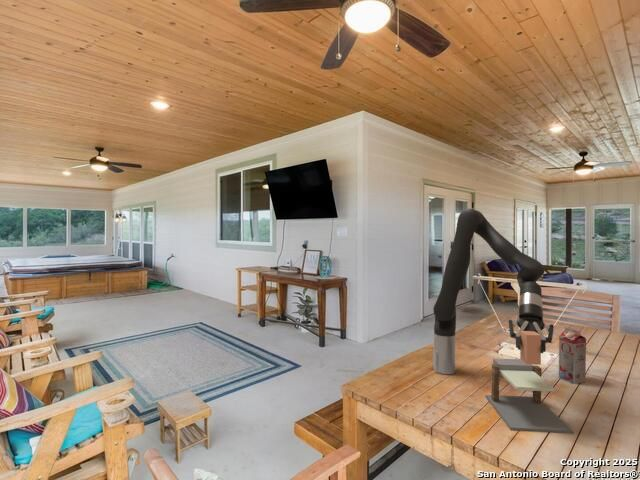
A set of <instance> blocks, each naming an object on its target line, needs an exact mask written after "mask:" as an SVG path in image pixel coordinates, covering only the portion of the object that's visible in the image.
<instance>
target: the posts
mask: <svg viewBox="0 0 640 480" xmlns="http://www.w3.org/2000/svg"><path fill="white" fill-rule="evenodd" d="M533 371H534V372H535V373H536V374H538V375H539V376H540V377H541V378H542V371H543V370H542V367H540V366H539V365H533ZM490 393H491V394H490V395H491V399H492V400H493V401H494V402H499V395H500V378H499V366H498V365H495V364H493V363H492V364H491V392H490ZM532 397H533V401H534V402H535V403H536V404H541V401H542V391H532Z"/></svg>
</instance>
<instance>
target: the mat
mask: <svg viewBox="0 0 640 480" xmlns="http://www.w3.org/2000/svg"><path fill="white" fill-rule="evenodd" d="M484 397H485V398H486V399H487V401H488V403H489V404H490V405H491V406H492V407H493V409H494V411H496V413H497V414H498V415H499V417H500V418H501V419H502V421H503V422H504V424H505V425H506V426H507V427H508V428H509V430H510V431H522V432H541V433H542V432H544V433H545V432H546V433H547V432H548V433H565V434H573V433H574V430H573V429H572V428H571V427H570V426H569V425H568V424H567V423H566V422H565V421H563V420H562V419H561V418H560V417H559V416H558V415H557V414H556V413H555V412H554V411H553V410H552V409H551V408H550V407H549V406H547V405H546V404H545V403H544V402H543V401H542V400H541V404H536V403H535V402H534V401H533V396H525V395H524V396H522V395H501V394H499V402H494V401H493V400H492V399H491V394H485V396H484Z"/></svg>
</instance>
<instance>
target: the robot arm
mask: <svg viewBox="0 0 640 480" xmlns="http://www.w3.org/2000/svg"><path fill="white" fill-rule="evenodd" d="M455 228H456V229H455V232H454V238H453V241H452V244H451V248H450V252H449V254H448V257H447V261H446V263H445V269H444V273H443V276H442V277H443V278H442V282H441V289H440V291H439V294H438V297H437V299H436V301H435V303H434V306H433V308H432V309H433V315H434V326H433V336H434V337H433V345H434V346H433V347H432V368H433V370H434V372H435V373H437V374H441V375H442V374H443V375H453V374H455V373H456V329H457V327H456V326H457V306H456V304H457V298H458V295H459V292H460V290H461V287H462V286H463V283H464V281H465V279H466V276H467V273H468V271H469V267H470V263H471V257H472V256H471V253H472V252H471V246H472V240H473V237H474V234H477V236H479V237H481V238H482V239H483V240H484V241H485V242H486V243H487V244H488V245H489V247H490V248H491V250H492V251H493V252H494V253H495V254H496V255H497V256H498V257H499V258H500V259H501V260H502V261H503V262H505V264H507V265H508V266H510V267H513V266H515V265H519V266H520V267H521V268H520V269H519V271H518V272H517V275H516V280H517V283H518V287H519V300H518V319H517V320H515V321H513V319H509V320H508V328H509V337H510V338H511V339H515V348H517V350H518V351H520V340H521V339H520V336H521V334H520V331H533V332H536V333H538V334H540V335H541V354H544V353H545V352H546V349H547V348H546V347H547V345H546V344H551V343H552V341H553V336H554V329H555V328H554V327H555V326H554V324H545V323H544V314H543V313H544V311H543V310H544V308H543V307H544V306H543V298H542V297H543V296H542V286H541V285H540V284H539V283H538V280H539V279H540V278H541V277H543V275H545V271H546V270H545V267H544V265H543V264H542V263H541V262H540V260H539V261H538V260H537V259H536V258H533V257H532V256H529V255H527V254H526V253H523V252H521V250H520V249H518V248H517V247H516V246H515V245H514V244H513V243H512V242H510V240H508V239H507V238H505V237H504V235H502V234H501V233H500V232H499V231H497V230H496V229H495V227H494V226H492V225H491V223H490V222H489V221H488V219H487V218H486V217H485V216H484V214H483V213H482V212H480V211H479V210H476V209H474V208H465V209H464V210H462V211H461V212H460V213H459V215H458V217H457V222H456V227H455ZM516 326H517V327H518V328H519V329H518V331H517V332H516V333H515V331H514V328H515V327H516ZM544 329H545V330H546V332H548V333H547V337H545V335H544V334H543V330H544Z"/></svg>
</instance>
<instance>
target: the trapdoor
mask: <svg viewBox="0 0 640 480" xmlns="http://www.w3.org/2000/svg"><path fill="white" fill-rule="evenodd" d="M492 364H495V365H498V366H499V379H501V378H502V379H505V380H506V381H507V383H509V384H510V385H511V386H512V387H513V388H514V389H515V390H516V391H530V392H531V391H532V392H533V391H541V392H555V391H556V388H555V387H554V386H552V384H550V383H549V382H547V380H546V379H544V378H543V377H542V376H541V377H540V376H539V375H538V374H536V373H535V372H534V371H533V366H534V364H526V363H524V362H523V361H522V360H521V359H520V358H518V359H517V358H492Z"/></svg>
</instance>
